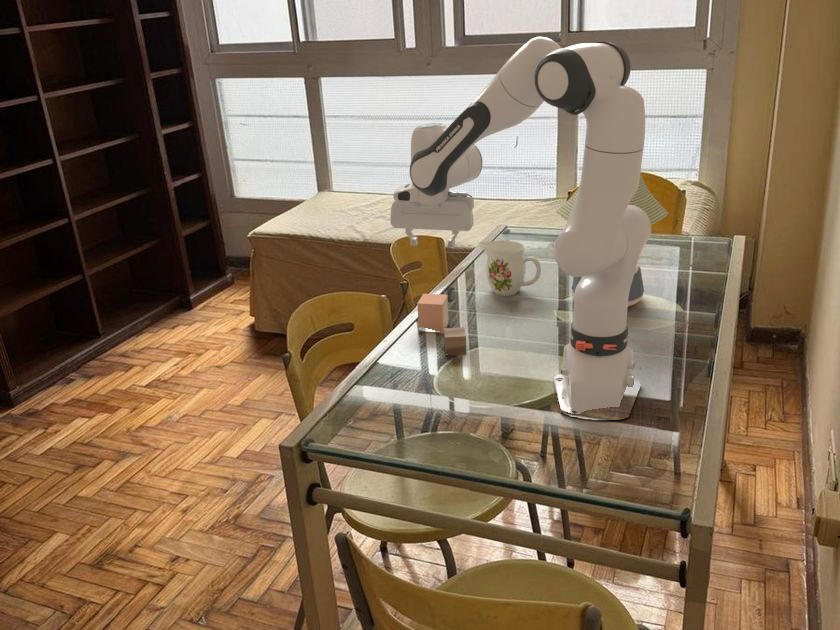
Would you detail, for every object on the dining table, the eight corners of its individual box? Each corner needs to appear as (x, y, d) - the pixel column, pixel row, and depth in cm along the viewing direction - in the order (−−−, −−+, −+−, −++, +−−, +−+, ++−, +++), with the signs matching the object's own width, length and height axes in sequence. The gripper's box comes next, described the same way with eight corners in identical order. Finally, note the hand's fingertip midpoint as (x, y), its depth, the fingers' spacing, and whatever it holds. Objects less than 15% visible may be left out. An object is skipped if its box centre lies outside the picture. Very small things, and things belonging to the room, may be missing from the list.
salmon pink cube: (443, 333, 204) (442, 304, 200) (419, 332, 205) (417, 303, 202) (448, 322, 209) (447, 294, 206) (424, 321, 211) (423, 293, 207)
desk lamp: (664, 322, 203) (678, 160, 186) (551, 317, 209) (554, 160, 192) (658, 283, 226) (669, 136, 209) (556, 281, 232) (559, 137, 215)
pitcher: (534, 302, 218) (535, 255, 213) (472, 295, 225) (471, 249, 220) (545, 287, 228) (546, 241, 222) (485, 281, 234) (484, 236, 229)
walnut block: (466, 354, 192) (465, 336, 190) (445, 356, 192) (444, 337, 190) (464, 345, 197) (464, 327, 195) (444, 346, 197) (443, 328, 195)
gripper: (475, 188, 193) (476, 243, 199) (393, 186, 197) (396, 239, 203) (471, 196, 187) (471, 252, 193) (386, 193, 192) (390, 248, 198)
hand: (432, 245), depth 198 cm, fingers open, 8 cm apart
